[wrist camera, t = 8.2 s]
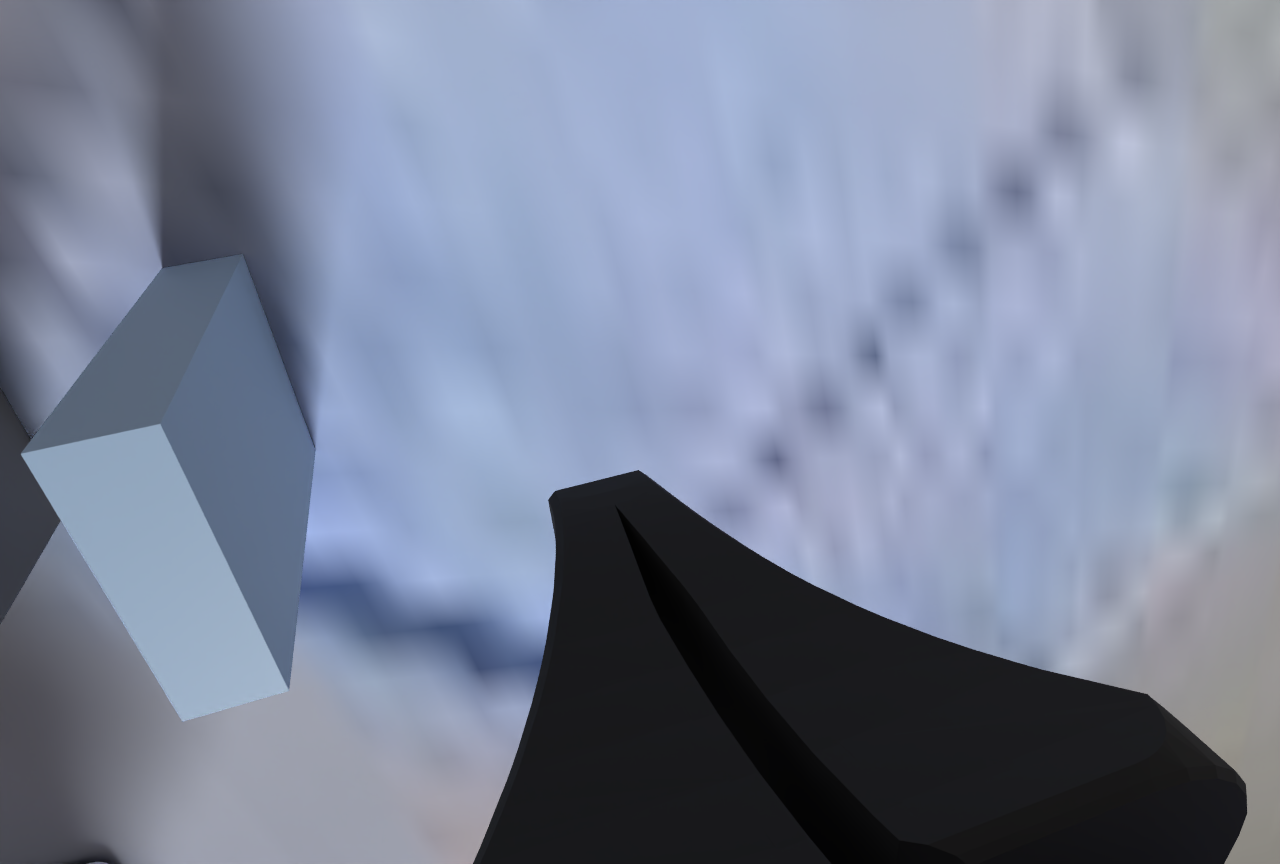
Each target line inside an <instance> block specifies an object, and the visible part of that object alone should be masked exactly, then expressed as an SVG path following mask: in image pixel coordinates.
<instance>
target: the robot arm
mask: <svg viewBox="0 0 1280 864" xmlns="http://www.w3.org/2000/svg"><path fill="white" fill-rule="evenodd" d="M548 501H549V507H550V512H551V517H552V523H553V528H554V533H555V539H556V561H555V578H554V592H553V600H552V607H551V613H550V620H549V627H548V633H547V640H546V645H545V650H544V655H543V660H542V664H541V669H540V673H539V677H538V681H537V685H536V689H535V693H534V697H533V701H532V705H531V708H530V711H529V715H528V718H527V721H526V725H525V728H524V731H523V734H522V738H521V741H520V744H519V748H518V751H517V753H516V756H515V759H514V762H513V765H512V768H511V771H510V774H509V776H508V779H507V782H506V784H505V787H504V789H503V792H502V794H501V797H500V799H499V802H498V804H497V807H496V809H495V812H494V814H493V817H492V819H491V822H490V824H489V827H488V829H487V832H486V834H485V837H484V839H483V842H482V844H481V847H480V849H479V851H478V854H477V856H476V858H475V860H474V863H473V864H1224V863H1225V861H1226V859H1227V857H1228V855H1229V853H1230V851H1231V849H1232V847H1233V846H1234V844H1235V842H1236V840H1237V838H1238V836H1239V834H1240V831H1241V828H1242V826H1243V823H1244V820H1245V818H1246V815H1247V795H1246V784H1245V783H1244V781H1243V780H1242V779H1241V777H1240V776H1239V775H1238V774H1237V772H1236V771H1235V770H1234V769H1233V768H1232V767H1230V766H1229V765H1228V764H1227V763H1226V762H1225V761H1224V760H1223V759H1221V758H1220V757H1219V756H1218V755H1217V754H1216V753H1215V752H1214V751H1212V750H1211V749H1210V748H1209V747H1208V746H1207V745H1206V744H1205V743H1203V742H1202V741H1201V740H1200V739H1199V738H1198V737H1197V736H1196V735H1195V734H1193V733H1192V732H1191V731H1190V730H1189V729H1188V728H1187V727H1185V726H1184V725H1183V724H1182V723H1181V722H1180V721H1179V720H1177V719H1176V718H1175V717H1174V716H1173V715H1172V714H1170V713H1169V712H1168V711H1167V710H1166V709H1165V708H1164V707H1162V706H1161V705H1160V704H1158V703H1157V702H1156V701H1155V700H1153V699H1152V698H1151V697H1150V696H1149V695H1148V694H1144V693H1140V692H1135V691H1131V690H1127V689H1122V688H1118V687H1114V686H1110V685H1105V684H1101V683H1097V682H1092V681H1088V680H1084V679H1080V678H1075V677H1071V676H1067V675H1062V674H1058V673H1054V672H1050V671H1045V670H1041V669H1038V668H1034V667H1030V666H1027V665H1023V664H1020V663H1017V662H1013V661H1010V660H1007V659H1003V658H1000V657H997V656H993V655H990V654H986V653H983V652H980V651H976V650H973V649H970V648H967V647H964V646H961V645H958V644H955V643H952V642H949V641H946V640H943V639H940V638H937V637H934V636H932V635H929V634H926V633H924V632H921V631H919V630H916V629H913V628H911V627H908V626H906V625H903V624H900V623H898V622H895V621H892V620H890V619H887V618H885V617H882V616H880V615H877V614H875V613H873V612H870V611H868V610H866V609H863V608H861V607H859V606H856V605H854V604H852V603H850V602H848V601H846V600H844V599H842V598H840V597H837V596H835V595H833V594H831V593H829V592H827V591H825V590H823V589H821V588H818V587H816V586H814V585H812V584H810V583H808V582H806V581H805V580H803V579H801V578H799V577H797V576H795V575H793V574H791V573H789V572H788V571H786V570H784V569H783V568H781V567H779V566H777V565H776V564H774V563H772V562H770V561H769V560H767V559H765V558H764V557H762V556H760V555H759V554H757V553H756V552H754V551H752V550H751V549H749V548H748V547H746V546H744V545H743V544H741V543H740V542H738V541H737V540H735V539H734V538H732V537H731V536H729V535H728V534H726V533H725V532H723V531H722V530H720V529H719V528H717V527H716V526H714V525H713V524H711V523H710V522H709V521H707V520H706V519H704V518H703V517H701V516H700V515H699V514H697V513H696V512H695V511H693V510H692V509H690V508H689V507H688V506H686V505H685V504H684V503H682V502H681V501H680V500H678V499H677V498H676V497H674V496H673V495H672V494H670V493H669V492H668V491H666V490H665V489H664V488H662V487H661V486H660V485H658V484H657V483H656V482H655V481H653V480H652V479H651V478H649V477H648V476H647V475H645V474H644V473H642V472H641V471H639V470H637V471H633V472H629V473H625V474H621V475H617V476H613V477H609V478H605V479H601V480H597V481H593V482H589V483H585V484H581V485H577V486H573V487H569V488H565V489H561V490H557V491H555V492H554V493H553V494H552V496H551V497H550V498H549V500H548ZM88 864H108V863H104V862H92V863H88Z"/></svg>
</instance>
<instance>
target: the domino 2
mask: <svg viewBox="0 0 1280 864" xmlns="http://www.w3.org/2000/svg"><path fill="white" fill-rule="evenodd" d="M315 451H316V450H315V448H314V445H313V442H312V439H311V437H310V434H309V431H308V429H307V426H306V423H305V421H304V418H303V415H302V412H301V410H300V407H299V404H298V402H297V399H296V396H295V394H294V391H293V388H292V385H291V383H290V380H289V377H288V375H287V372H286V369H285V367H284V364H283V361H282V359H281V356H280V353H279V350H278V348H277V345H276V342H275V340H274V337H273V334H272V332H271V329H270V326H269V323H268V321H267V318H266V315H265V313H264V310H263V307H262V305H261V302H260V299H259V296H258V294H257V291H256V288H255V286H254V283H253V280H252V278H251V275H250V272H249V269H248V267H247V264H246V261H245V259H244V256H243V254H240V255H234V256H228V257H223V258H217V259H211V260H205V261H200V262H194V263H188V264H183V265H177V266H171V267H165V268H162V269H161V270H160V272H159V273H158V274H157V276H156V277H155V278H154V280H153V281H152V282H151V283H150V285H149V286H148V287H147V289H146V290H145V291H144V293H143V294H142V295H141V297H140V298H139V299H138V301H137V302H136V303H135V304H134V306H133V307H132V308H131V310H130V311H129V312H128V314H127V315H126V316H125V318H124V319H123V320H122V321H121V323H120V324H119V325H118V327H117V328H116V329H115V331H114V332H113V333H112V335H111V336H110V337H109V339H108V340H107V341H106V342H105V344H104V345H103V346H102V348H101V349H100V350H99V352H98V353H97V354H96V356H95V357H94V358H93V359H92V361H91V362H90V363H89V365H88V366H87V367H86V369H85V370H84V371H83V373H82V374H81V375H80V377H79V378H78V379H77V380H76V382H75V383H74V384H73V386H72V387H71V388H70V390H69V391H68V392H67V394H66V395H65V396H64V397H63V399H62V400H61V401H60V403H59V404H58V405H57V407H56V408H55V409H54V411H53V412H52V413H51V415H50V416H49V417H48V418H47V420H46V421H45V422H44V424H43V425H42V426H41V428H40V429H39V430H38V432H37V433H36V434H35V436H34V437H33V438H32V439H31V441H30V442H29V443H28V445H27V446H26V447H25V449H24V450H23V451H22V453H21V455H22V457H23V459H24V460H25V462H26V464H27V465H28V467H29V469H30V470H31V472H32V474H33V475H34V477H35V479H36V480H37V482H38V484H39V485H40V487H41V489H42V490H43V492H44V494H45V495H46V497H47V498H48V500H49V502H50V503H51V505H52V507H53V508H54V510H55V512H56V513H57V515H58V517H59V518H60V520H61V522H62V523H63V525H64V527H65V528H66V530H67V532H68V533H69V535H70V537H71V538H72V540H73V542H74V543H75V545H76V547H77V548H78V550H79V551H80V553H81V555H82V556H83V558H84V560H85V561H86V563H87V565H88V566H89V568H90V570H91V571H92V573H93V575H94V576H95V578H96V580H97V581H98V583H99V585H100V586H101V588H102V590H103V591H104V593H105V595H106V596H107V598H108V600H109V601H110V603H111V604H112V606H113V608H114V609H115V611H116V613H117V614H118V616H119V618H120V619H121V621H122V623H123V624H124V626H125V628H126V629H127V631H128V633H129V634H130V636H131V638H132V639H133V641H134V643H135V644H136V646H137V648H138V649H139V651H140V653H141V654H142V656H143V657H144V659H145V661H146V662H147V664H148V666H149V667H150V669H151V671H152V672H153V674H154V676H155V677H156V679H157V681H158V682H159V684H160V686H161V687H162V689H163V691H164V692H165V694H166V696H167V697H168V699H169V701H170V702H171V704H172V706H173V707H174V709H175V710H176V712H177V714H178V715H179V717H180V719H181V720H182V722H183V721H187V720H190V719H194V718H197V717H201V716H204V715H208V714H211V713H214V712H218V711H221V710H225V709H228V708H232V707H235V706H239V705H242V704H245V703H249V702H252V701H256V700H259V699H263V698H266V697H270V696H273V695H276V694H280V693H283V692H287V691H289V686H290V677H291V668H292V659H293V650H294V641H295V632H296V623H297V614H298V605H299V596H300V587H301V578H302V568H303V559H304V550H305V541H306V532H307V523H308V514H309V505H310V496H311V487H312V478H313V469H314V460H315Z"/></svg>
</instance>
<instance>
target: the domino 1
mask: <svg viewBox="0 0 1280 864" xmlns="http://www.w3.org/2000/svg"><path fill="white" fill-rule="evenodd" d="M30 441H31V440H30V438H29V436H28V435H27V433H26V431H25V429H24V428H23V426H22V424H21V423H20V421H19V419H18V417H17V416H16V414H15V412H14V411H13V409H12V407H11V405H10V404H9V402H8V400H7V399H6V397H5V395H4V393H3V392H2V390H1V388H0V624H1V622H2V621H3V619H4V617H5V616H6V614H7V612H8V610H9V609H10V607H11V605H12V603H13V602H14V600H15V598H16V597H17V595H18V593H19V591H20V590H21V588H22V586H23V584H24V583H25V581H26V579H27V578H28V576H29V574H30V572H31V571H32V569H33V567H34V565H35V564H36V562H37V560H38V559H39V557H40V555H41V553H42V552H43V550H44V548H45V546H46V545H47V543H48V541H49V540H50V538H51V536H52V534H53V533H54V531H55V529H56V528H57V526H58V524H59V522H60V521H61V520H60V518H59V517H58V515H57V513H56V512H55V510H54V508H53V507H52V505H51V503H50V502H49V500H48V498H47V497H46V495H45V494H44V492H43V490H42V489H41V487H40V485H39V484H38V482H37V480H36V479H35V477H34V475H33V474H32V472H31V470H30V469H29V467H28V465H27V464H26V462H25V460H24V459H23V457H22V455H21V453H22V451H23V450H24V449H25V447H26V446H27V445H28V443H29V442H30Z"/></svg>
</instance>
